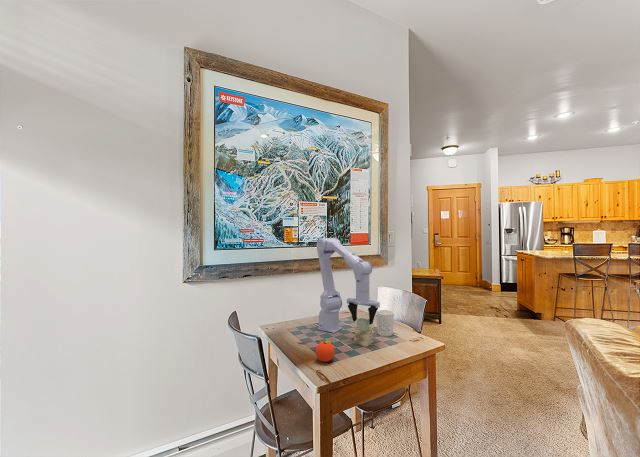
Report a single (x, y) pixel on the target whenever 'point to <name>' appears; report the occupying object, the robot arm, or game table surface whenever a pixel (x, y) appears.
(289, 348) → the game table surface
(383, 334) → the white cup
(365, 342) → the slab lower
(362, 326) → the cube
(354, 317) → the robot arm
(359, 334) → the slab upper
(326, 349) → the clementine
